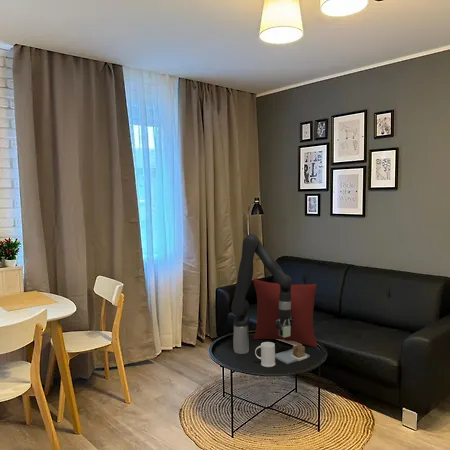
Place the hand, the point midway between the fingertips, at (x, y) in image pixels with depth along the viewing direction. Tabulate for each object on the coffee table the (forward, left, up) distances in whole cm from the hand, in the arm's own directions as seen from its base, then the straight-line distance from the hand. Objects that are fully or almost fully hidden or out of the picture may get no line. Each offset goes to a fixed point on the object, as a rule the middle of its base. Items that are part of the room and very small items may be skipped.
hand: (284, 334), depth 268 cm
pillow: (-16, +14, -13) cm, 25 cm away
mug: (+3, -18, -13) cm, 23 cm away
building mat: (+4, +1, -13) cm, 14 cm away
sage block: (0, 0, -1) cm, 1 cm away
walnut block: (+8, +4, -12) cm, 15 cm away
